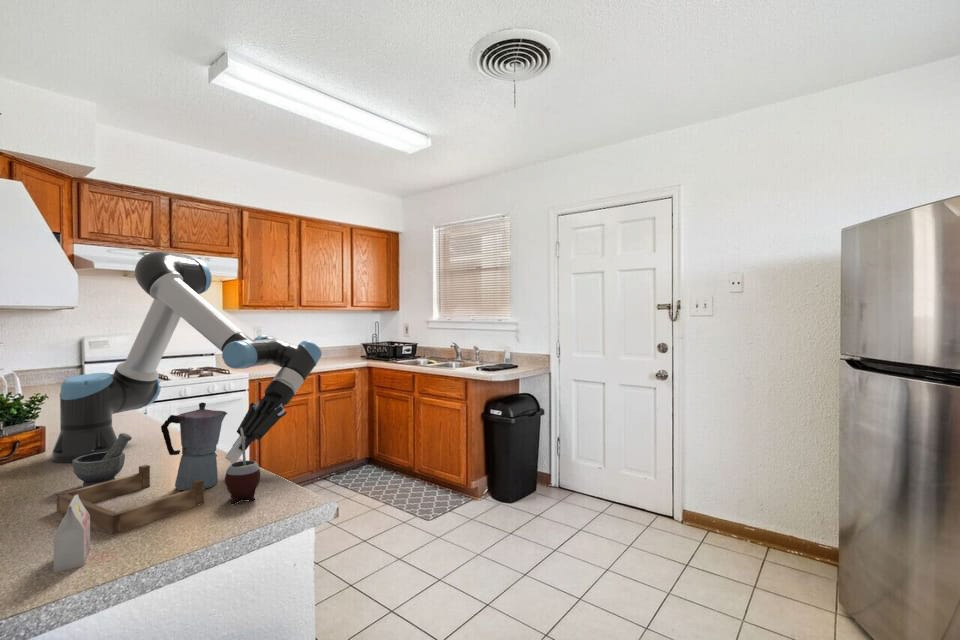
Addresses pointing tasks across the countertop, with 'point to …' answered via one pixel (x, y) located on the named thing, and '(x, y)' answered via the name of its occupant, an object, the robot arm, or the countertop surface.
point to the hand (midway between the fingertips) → (229, 460)
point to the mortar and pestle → (101, 463)
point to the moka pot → (196, 445)
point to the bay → (131, 516)
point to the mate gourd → (242, 477)
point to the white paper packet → (72, 537)
